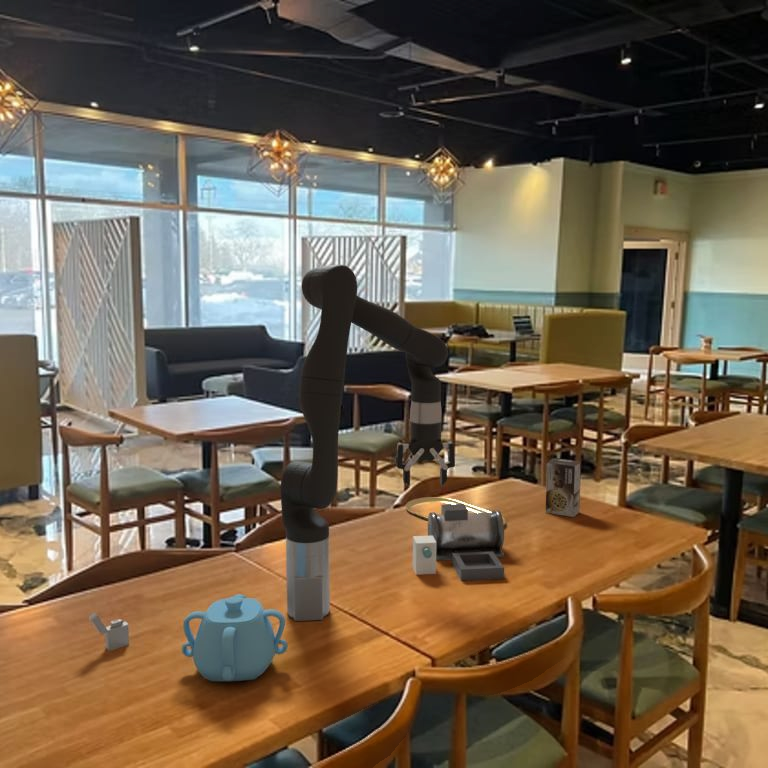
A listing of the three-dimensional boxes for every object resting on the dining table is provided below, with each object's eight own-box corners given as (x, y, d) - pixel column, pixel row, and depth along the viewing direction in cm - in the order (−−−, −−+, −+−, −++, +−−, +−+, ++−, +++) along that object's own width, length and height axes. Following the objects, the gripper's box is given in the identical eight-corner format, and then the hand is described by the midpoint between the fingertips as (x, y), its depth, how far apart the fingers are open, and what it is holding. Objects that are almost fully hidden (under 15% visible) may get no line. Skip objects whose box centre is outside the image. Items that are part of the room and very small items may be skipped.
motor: (504, 557, 196) (505, 512, 194) (434, 560, 194) (435, 515, 192) (492, 541, 208) (493, 498, 206) (426, 543, 206) (427, 501, 204)
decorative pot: (175, 666, 142) (172, 597, 140) (248, 638, 153) (247, 574, 150) (219, 702, 130) (216, 628, 128) (295, 669, 141) (294, 600, 138)
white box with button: (437, 577, 183) (438, 545, 182) (417, 578, 182) (417, 546, 181) (432, 565, 190) (432, 535, 189) (412, 566, 190) (413, 536, 188)
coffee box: (580, 512, 233) (582, 461, 230) (573, 517, 227) (575, 465, 225) (551, 507, 238) (553, 457, 235) (544, 512, 232) (546, 461, 230)
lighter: (126, 641, 151) (124, 603, 150) (129, 644, 150) (127, 606, 148) (90, 652, 146) (88, 613, 145) (93, 656, 145) (91, 617, 144)
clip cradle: (503, 578, 182) (504, 567, 182) (460, 580, 181) (461, 569, 181) (489, 557, 196) (490, 547, 195) (449, 559, 194) (449, 549, 194)
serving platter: (473, 540, 209) (473, 535, 209) (393, 509, 236) (393, 504, 236) (518, 526, 221) (518, 521, 221) (437, 498, 248) (437, 493, 248)
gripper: (398, 423, 177) (398, 489, 180) (458, 421, 179) (456, 487, 181) (394, 416, 185) (394, 481, 187) (451, 415, 186) (450, 479, 189)
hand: (425, 484), depth 184 cm, fingers open, 8 cm apart
